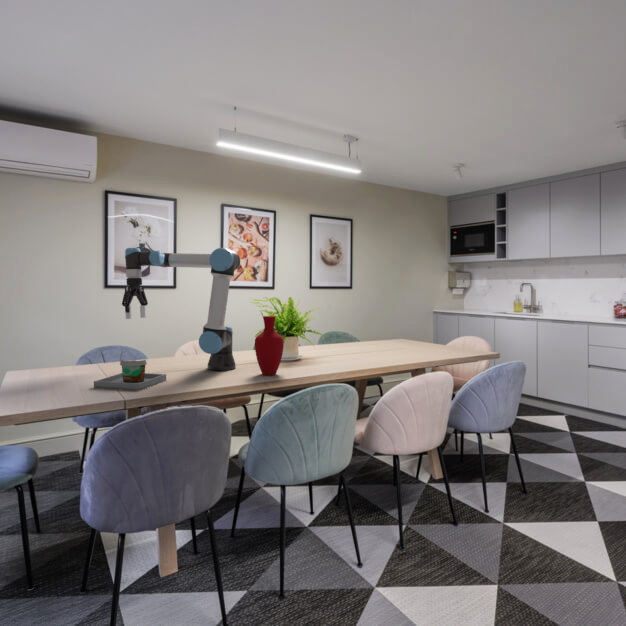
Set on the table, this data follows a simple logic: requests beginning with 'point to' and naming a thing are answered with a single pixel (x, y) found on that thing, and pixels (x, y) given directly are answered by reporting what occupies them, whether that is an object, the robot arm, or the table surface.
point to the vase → (269, 347)
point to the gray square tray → (118, 383)
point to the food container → (133, 371)
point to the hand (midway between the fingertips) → (136, 318)
